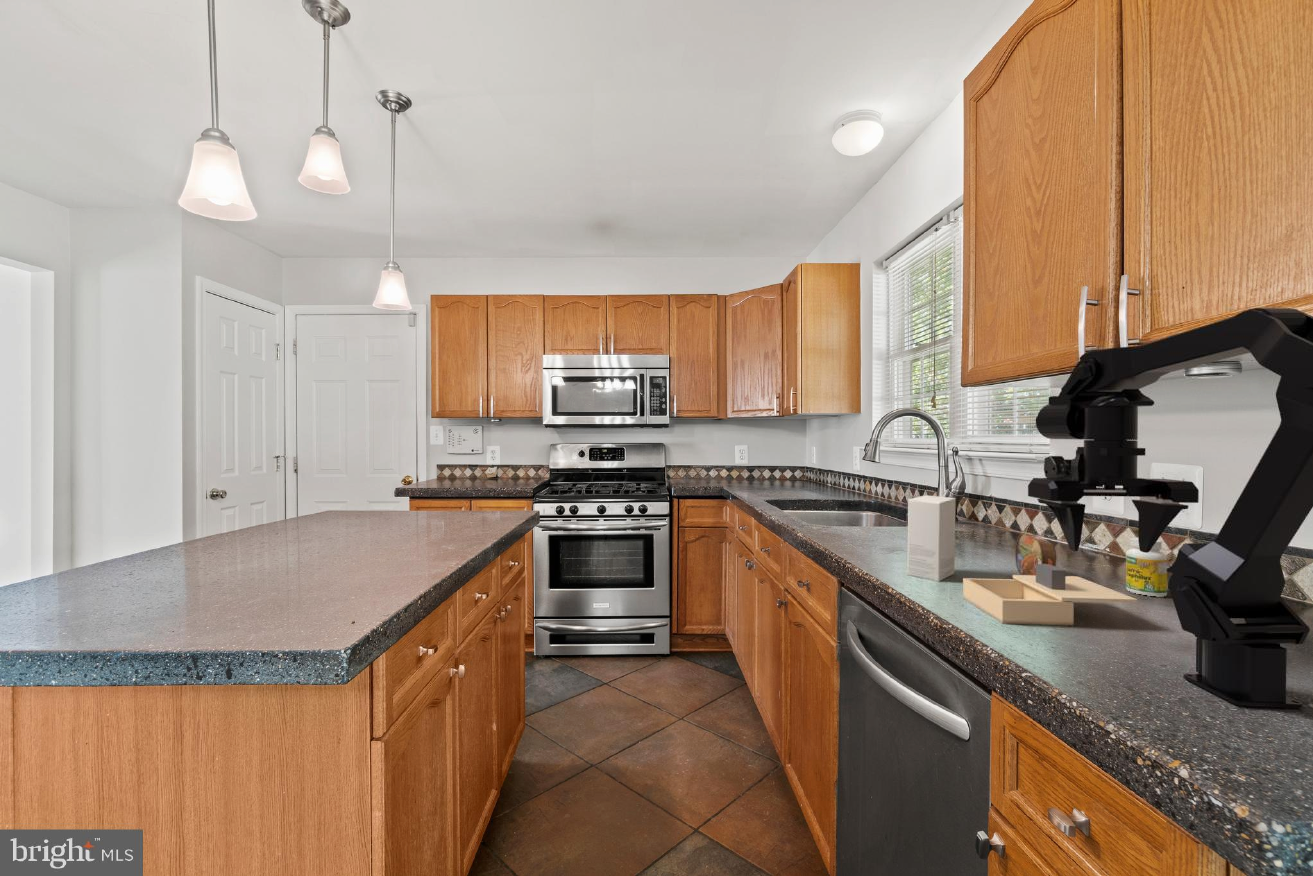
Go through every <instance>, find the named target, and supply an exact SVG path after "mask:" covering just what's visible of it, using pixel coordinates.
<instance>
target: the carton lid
mask: <svg viewBox="0 0 1313 876" xmlns="http://www.w3.org/2000/svg"><path fill="white" fill-rule="evenodd" d="M1012 579H1016V580H1018V581H1020V582H1023V583H1025V584H1027V585H1029V586H1031V587H1033V588H1035V589H1037V590H1040V591H1042V592H1044V593H1046V594H1048V595H1050V596H1052V597H1054V598H1057V599H1059V600H1061V601H1072V602H1082V603H1083V602H1084V603H1085V602H1087V603H1095V602H1096V603H1123V604H1125V603H1128V604H1131V603H1132V604H1138V599H1137V598H1134V597H1132V596H1129V595H1127V594H1124V593H1122V592H1119V591H1117V590H1113V589H1111V588H1108V587H1106V586H1103V585H1101V584H1098V583H1095V582H1093V581H1090V580H1087V579H1086V578H1082V577H1081V576H1075V575H1066V570H1065V569H1063V568H1060V567H1057V566H1056V567H1055V566H1052V565H1050V564H1036V575H1021V574H1012Z"/></svg>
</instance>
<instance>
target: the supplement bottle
mask: <svg viewBox="0 0 1313 876" xmlns="http://www.w3.org/2000/svg"><path fill="white" fill-rule="evenodd" d="M1130 545H1131V546H1132V548H1130V549H1127V551H1126V553H1125V558H1126V559H1125V560H1126V561H1125V566H1126V567H1125V570H1126V571H1125V583H1126V584H1125V587H1126V590H1127V591H1128V592H1129V591H1130V592H1129V593H1131V594H1134V593H1136V594H1135V595H1138V594H1142V595H1141V596H1143V595H1147V596H1146V597H1150V596H1156V597H1155V598H1164V596H1165V597H1166V596H1167V595H1168V572H1167V569H1168V557H1167V555H1166V553H1164V552H1162V551H1160V550H1162V548H1163V547H1162V540H1160V539H1158V540H1157V541H1156V543H1155V544H1154V546H1153V547H1152V549H1151V550H1150V551H1149V552H1148V553H1145V552H1141V551H1140V549H1139V541H1138V537H1131V538H1130Z"/></svg>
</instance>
